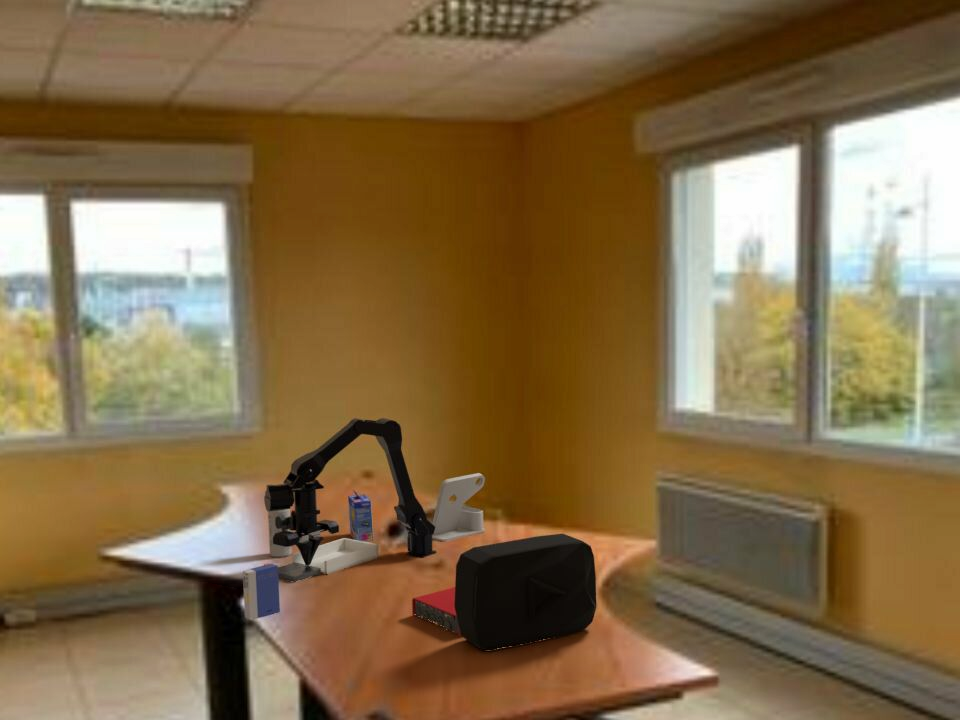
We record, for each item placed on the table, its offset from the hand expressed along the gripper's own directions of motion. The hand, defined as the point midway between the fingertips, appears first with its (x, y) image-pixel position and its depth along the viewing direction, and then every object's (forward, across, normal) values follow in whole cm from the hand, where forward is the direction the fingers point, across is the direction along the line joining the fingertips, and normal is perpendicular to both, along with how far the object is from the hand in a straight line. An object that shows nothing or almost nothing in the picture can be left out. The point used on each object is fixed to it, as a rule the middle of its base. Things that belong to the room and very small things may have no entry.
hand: (307, 564), depth 261 cm
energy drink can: (+2, -7, -18) cm, 20 cm away
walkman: (+2, +30, +18) cm, 35 cm away
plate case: (+2, -10, 0) cm, 10 cm away
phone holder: (+2, -52, +8) cm, 53 cm away
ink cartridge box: (+2, -34, -13) cm, 36 cm away
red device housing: (+3, +6, +57) cm, 57 cm away
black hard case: (+2, +7, +77) cm, 77 cm away
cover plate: (+3, +4, 0) cm, 5 cm away
